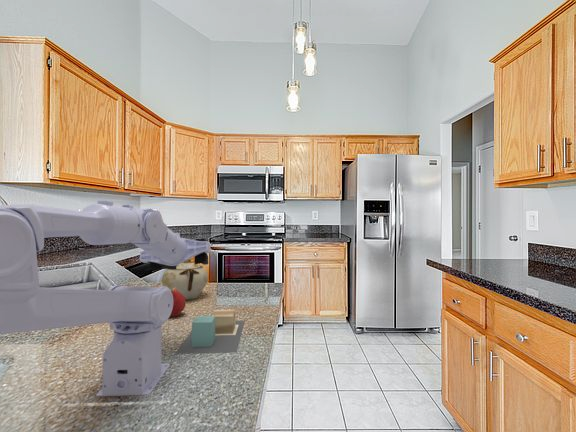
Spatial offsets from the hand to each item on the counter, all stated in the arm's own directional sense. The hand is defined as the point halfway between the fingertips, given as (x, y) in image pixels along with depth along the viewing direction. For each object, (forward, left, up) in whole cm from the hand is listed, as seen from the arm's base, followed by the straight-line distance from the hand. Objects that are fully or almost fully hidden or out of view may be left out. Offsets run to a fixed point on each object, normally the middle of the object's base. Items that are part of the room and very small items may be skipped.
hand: (190, 262), depth 71 cm
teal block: (-7, -5, -16) cm, 18 cm away
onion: (+11, +7, -17) cm, 21 cm away
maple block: (0, -8, -16) cm, 18 cm away
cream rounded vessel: (+32, +10, -17) cm, 38 cm away
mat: (-3, -6, -17) cm, 18 cm away
